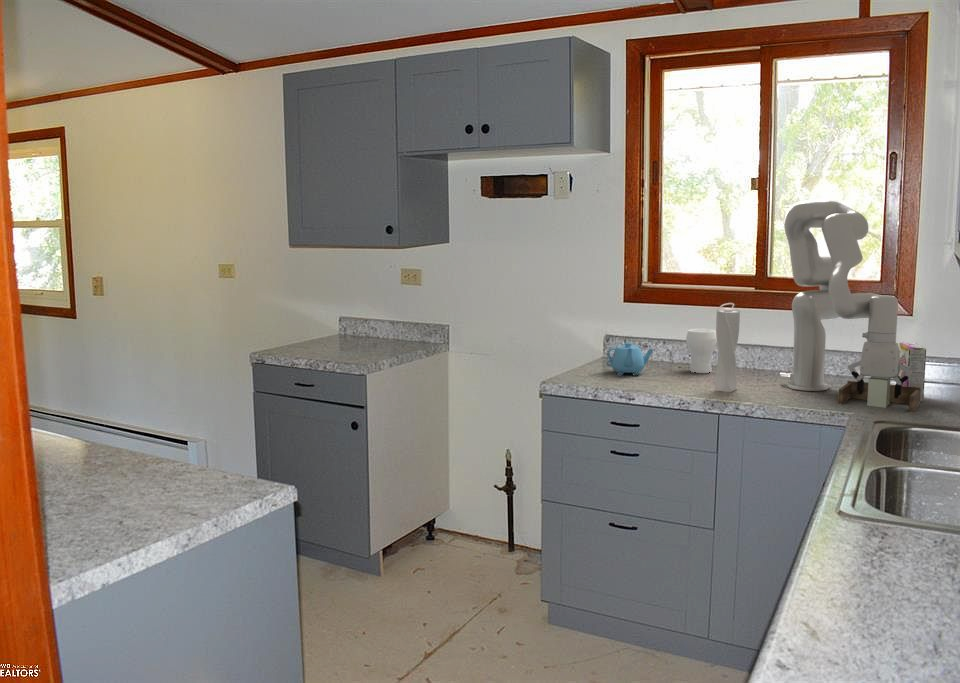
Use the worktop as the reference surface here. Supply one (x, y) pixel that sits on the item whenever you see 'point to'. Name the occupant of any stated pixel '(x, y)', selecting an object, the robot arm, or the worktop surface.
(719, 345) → the skyscraper
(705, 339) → the cup
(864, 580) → the worktop surface
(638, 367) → the teapot
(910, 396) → the walnut u-shaped bracket
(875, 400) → the sage block
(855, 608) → the worktop surface
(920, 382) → the candy bar box
